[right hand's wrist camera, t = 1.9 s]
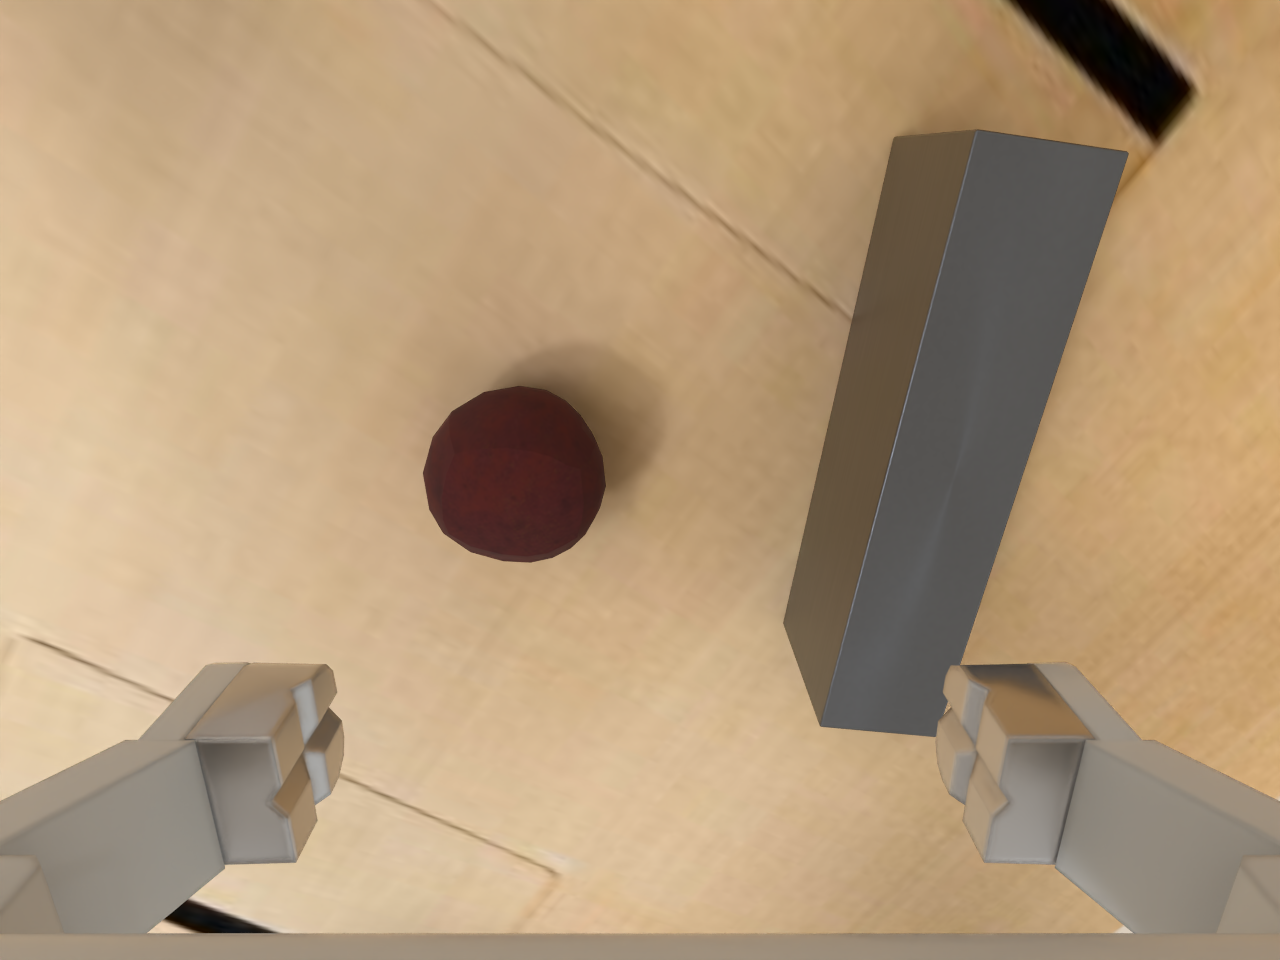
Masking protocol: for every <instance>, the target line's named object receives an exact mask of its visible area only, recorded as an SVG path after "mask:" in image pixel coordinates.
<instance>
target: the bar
mask: <svg viewBox="0 0 1280 960" xmlns="http://www.w3.org/2000/svg"><path fill="white" fill-rule="evenodd" d="M1127 157H1128V152H1127V151H1121V150H1114V149H1107V148H1100V147H1093V146H1087V145H1080V144H1073V143H1066V142H1059V141H1053V140H1046V139H1039V138H1032V137H1025V136H1019V135H1012V134H1005V133H998V132H992V131H985V130H966V131H955V132H944V133H933V134H922V135H910V136H899V137H894V139H893V144H892V148H891V153H890V157H889V161H888V166H887V170H886V175H885V179H884V183H883V188H882V192H881V197H880V201H879V205H878V210H877V214H876V218H875V223H874V227H873V232H872V236H871V240H870V245H869V249H868V254H867V258H866V262H865V267H864V271H863V276H862V280H861V284H860V289H859V293H858V298H857V302H856V306H855V311H854V315H853V320H852V324H851V328H850V333H849V337H848V341H847V346H846V350H845V355H844V359H843V363H842V368H841V372H840V377H839V381H838V385H837V390H836V394H835V399H834V403H833V407H832V412H831V416H830V421H829V425H828V429H827V434H826V438H825V443H824V447H823V451H822V456H821V460H820V464H819V469H818V473H817V478H816V482H815V486H814V491H813V495H812V500H811V504H810V508H809V513H808V517H807V522H806V526H805V530H804V535H803V539H802V544H801V548H800V552H799V557H798V561H797V565H796V570H795V574H794V579H793V583H792V587H791V592H790V596H789V601H788V605H787V609H786V614H785V618H784V623H783V624H784V627H785V630H786V632H787V635H788V638H789V641H790V644H791V646H792V649H793V652H794V655H795V658H796V660H797V663H798V666H799V669H800V672H801V674H802V677H803V680H804V683H805V686H806V688H807V691H808V694H809V697H810V700H811V702H812V705H813V708H814V711H815V714H816V716H817V719H818V722H819V725H820V726H821V727H830V728H841V729H852V730H863V731H875V732H886V733H897V734H908V735H919V736H930V737H936V735H937V726H938V720H939V719H940V718H941V717H942V716H943V714H944V711H945V708H946V705H947V702H948V700H947V699H946V697H945V695H944V694H943V688H944V682H945V677H946V674H947V672H948V670H949V668H950V666H951V665H960V663H961V660H962V657H963V654H964V651H965V648H966V645H967V642H968V639H969V636H970V633H971V630H972V627H973V624H974V621H975V618H976V615H977V612H978V609H979V605H980V602H981V599H982V596H983V593H984V590H985V587H986V584H987V581H988V578H989V575H990V572H991V569H992V566H993V563H994V560H995V557H996V554H997V551H998V548H999V545H1000V542H1001V539H1002V536H1003V533H1004V530H1005V527H1006V524H1007V521H1008V518H1009V515H1010V512H1011V509H1012V506H1013V503H1014V500H1015V497H1016V493H1017V490H1018V487H1019V484H1020V481H1021V478H1022V475H1023V472H1024V469H1025V466H1026V463H1027V460H1028V457H1029V454H1030V451H1031V448H1032V445H1033V442H1034V439H1035V436H1036V433H1037V430H1038V427H1039V424H1040V421H1041V418H1042V415H1043V412H1044V409H1045V406H1046V403H1047V400H1048V397H1049V394H1050V391H1051V388H1052V384H1053V381H1054V378H1055V375H1056V372H1057V369H1058V366H1059V363H1060V360H1061V357H1062V354H1063V351H1064V348H1065V345H1066V342H1067V339H1068V336H1069V333H1070V330H1071V327H1072V324H1073V321H1074V318H1075V315H1076V312H1077V309H1078V306H1079V303H1080V300H1081V297H1082V294H1083V291H1084V288H1085V285H1086V282H1087V279H1088V275H1089V272H1090V269H1091V266H1092V263H1093V260H1094V257H1095V254H1096V251H1097V248H1098V245H1099V242H1100V239H1101V236H1102V233H1103V230H1104V227H1105V224H1106V221H1107V218H1108V215H1109V212H1110V209H1111V206H1112V203H1113V200H1114V197H1115V194H1116V191H1117V188H1118V185H1119V182H1120V179H1121V176H1122V173H1123V170H1124V167H1125V163H1126V160H1127Z"/></svg>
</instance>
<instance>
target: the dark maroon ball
mask: <svg viewBox="0 0 1280 960" xmlns="http://www.w3.org/2000/svg"><path fill="white" fill-rule="evenodd" d="M423 476H424V482H425V488H426V493H427V499H428V504H429V510H430V511H431V513H432V515H433V516H434V518H435V520H436V522H437V523H438V525H439V527H440V528H441V530H442V532H443V533H444V534H445V535H447V536H448V537H450V538H451V539H452V540H454V541H455V542H457V543H458V544H460V545H461V546H463V547H464V548H465V549H467V550H468V551H470V552H472V553H476V554H480V555H483V556H487V557H490V558H494V559H498V560H501V561H512V562H535V561H540V560H544V559H549V558H553V557H555V556H557V555H559V554H561V553H563V552H564V551H566V550H568V549H570V548H571V547H573V546H574V545H575V544H576V543H577V542H578V541H579V540H580V539H581V538H582V537H583V536H584V535H585V534H586V532H587V530H588V529H589V527H590V525H591V523H592V522H593V520H594V518H595V516H596V514H597V512H598V511H599V509H600V506H601V502H602V498H603V494H604V491H605V487H606V484H605V475H604V466H603V458H602V455H601V452H600V450H599V447H598V445H597V443H596V440H595V438H594V436H593V434H592V432H591V431H590V429H589V428H588V426H587V425H586V423H585V422H584V420H583V418H582V417H581V415H580V414H579V413H578V412H577V411H576V410H575V409H574V408H573V407H571V406H570V405H569V404H568V403H567V402H566V401H565V400H563V399H561V398H560V397H558V396H556V395H554V394H552V393H550V392H549V391H547V390H542V389H535V388H529V387H523V386H517V387H511V388H505V389H500V390H494V391H488V392H483V393H482V394H480V395H478V396H477V397H475V398H473V399H472V400H470V401H468V402H467V403H465V404H463V405H462V406H460V407H458V408H457V409H455V410H453V411H452V412H451V413H450V415H449V416H448V418H447V419H446V420H445V422H444V423H443V424H442V426H441V427H440V428H439V430H438V431H437V432H436V434H435V435H434V436H433V439H432V442H431V446H430V449H429V453H428V457H427V460H426V464H425V468H424V471H423Z"/></svg>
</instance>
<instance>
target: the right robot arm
mask: <svg viewBox="0 0 1280 960" xmlns="http://www.w3.org/2000/svg"><path fill="white" fill-rule="evenodd" d="M336 694H337V689H336V684H335V679H334V674H333V670H332V669H331V668H330V667H329V666H328V665H327V664H288V663H252V664H251V663H247V662H244V663H213V664H209V665H206V666H205V667H204V668H203V669H202V670H201V671H200V672H199V673H198V674H197V676H196V677H195V678H194V679H193V680H192V681H191V682H190V683H189V684H188V685H187V687H186V688H185V689H184V690H183V691H182V692H181V693H180V694H179V695H178V696H177V698H176V699H175V700H174V701H173V702H172V703H171V704H170V705H169V706H168V707H167V709H166V710H165V711H164V712H163V713H162V714H161V715H160V716H159V717H158V719H157V720H156V721H155V722H154V723H153V724H152V725H151V726H150V727H149V728H148V730H147V731H146V732H145V733H144V734H143V735H142V736H141V737H140V738H139V739H138V740H125V741H123V742H121V743H119V744H116V745H114V746H112V747H110V748H108V749H106V750H104V751H102V752H100V753H98V754H96V755H94V756H92V757H90V758H88V759H86V760H84V761H82V762H80V763H78V764H75V765H73V766H71V767H69V768H67V769H65V770H63V771H61V772H59V773H57V774H55V775H53V776H51V777H49V778H47V779H45V780H43V781H41V782H39V783H37V784H34V785H32V786H30V787H28V788H26V789H24V790H22V791H20V792H18V793H16V794H14V795H12V796H10V797H8V798H6V799H4V800H2V801H0V960H1280V801H1278V800H1276V799H1274V798H1272V797H1270V796H1268V795H1266V794H1264V793H1262V792H1260V791H1258V790H1255V789H1253V788H1251V787H1249V786H1247V785H1245V784H1243V783H1241V782H1239V781H1237V780H1235V779H1233V778H1231V777H1229V776H1227V775H1225V774H1223V773H1221V772H1219V771H1217V770H1215V769H1213V768H1211V767H1208V766H1206V765H1204V764H1202V763H1200V762H1198V761H1196V760H1194V759H1192V758H1190V757H1188V756H1186V755H1184V754H1182V753H1180V752H1178V751H1176V750H1174V749H1172V748H1170V747H1168V746H1166V745H1164V744H1161V743H1159V742H1157V741H1155V740H1142V739H1141V738H1140V737H1139V736H1138V735H1137V734H1136V733H1135V732H1134V731H1133V730H1132V728H1131V727H1130V726H1129V725H1128V724H1127V723H1126V722H1125V721H1124V720H1123V719H1122V717H1121V716H1120V715H1119V714H1118V713H1117V712H1116V711H1115V710H1114V709H1113V707H1112V706H1111V705H1110V704H1109V703H1108V702H1107V701H1106V700H1105V699H1104V698H1103V696H1102V695H1101V694H1100V693H1099V692H1098V691H1097V690H1096V689H1095V688H1094V687H1093V685H1092V684H1091V683H1090V682H1089V681H1088V680H1087V679H1086V678H1085V677H1084V676H1083V674H1082V673H1081V672H1080V671H1079V670H1078V669H1077V668H1076V667H1075V666H1073V665H1071V664H1069V663H1067V662H1053V663H1027V664H1000V665H951V666H950V668H949V670H948V672H947V674H946V677H945V682H944V688H943V694H944V695H945V697H946V699H947V700H948V702H949V704H950V706H951V708H950V709H949V710H948V711H947V712H946V713H945V714H944V715H943V716H942V717H941V718H940V719H939V720H938V726H937V735H936V753H937V764H938V767H939V771H940V774H941V777H942V780H943V782H944V784H945V786H946V789H947V791H948V793H949V794H950V795H951V796H953V797H954V798H955V799H957V800H958V801H960V802H961V803H963V804H964V805H965V809H964V815H963V822H964V824H965V826H966V828H967V830H968V832H969V834H970V836H971V838H972V840H973V842H974V844H975V846H976V848H977V850H978V852H979V854H980V856H981V857H982V859H983V861H984V863H1016V864H1052V865H1055V868H1056V869H1057V870H1058V871H1059V872H1060V873H1062V874H1063V875H1064V876H1065V877H1066V878H1068V879H1069V880H1070V881H1071V882H1072V883H1074V884H1075V885H1076V886H1077V887H1079V888H1080V889H1081V890H1082V891H1083V892H1085V893H1086V894H1087V895H1088V896H1089V897H1091V898H1092V899H1093V900H1094V901H1095V902H1097V903H1098V904H1099V905H1100V906H1101V907H1103V908H1104V909H1105V910H1106V911H1107V912H1109V913H1110V914H1111V915H1112V916H1114V917H1115V918H1116V919H1117V920H1118V921H1120V922H1121V923H1122V924H1123V925H1124V926H1126V927H1127V928H1128V929H1129V930H1130V931H1132V932H1133V933H1008V934H561V933H322V934H160V933H147V932H149V931H150V930H151V929H152V928H153V927H155V926H156V925H157V924H158V923H159V922H161V921H162V920H163V919H164V918H166V917H167V916H168V915H169V914H170V913H172V912H173V911H174V910H175V909H176V908H178V907H179V906H180V905H181V904H182V903H184V902H185V901H186V900H187V899H189V898H190V897H191V896H192V895H193V894H195V893H196V892H197V891H198V890H199V889H201V888H202V887H203V886H204V885H205V884H207V883H208V882H209V881H210V880H211V879H213V878H214V877H215V876H216V875H218V874H219V873H220V872H221V871H222V870H224V869H225V865H228V864H262V863H296V862H297V860H298V858H299V856H300V854H301V852H302V850H303V848H304V846H305V844H306V842H307V840H308V838H309V836H310V834H311V832H312V830H313V828H314V826H315V824H316V822H317V815H316V809H315V805H316V804H317V803H319V802H320V801H322V800H323V799H325V798H326V797H327V796H329V795H330V794H331V793H332V791H333V788H334V786H335V784H336V782H337V780H338V778H339V774H340V770H341V765H342V761H343V756H344V732H343V726H342V720H341V719H340V718H339V717H338V716H337V715H336V714H335V713H334V712H333V711H332V710H331V709H330V708H329V706H330V704H331V702H332V700H333V699H334V697H335V695H336Z"/></svg>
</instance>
